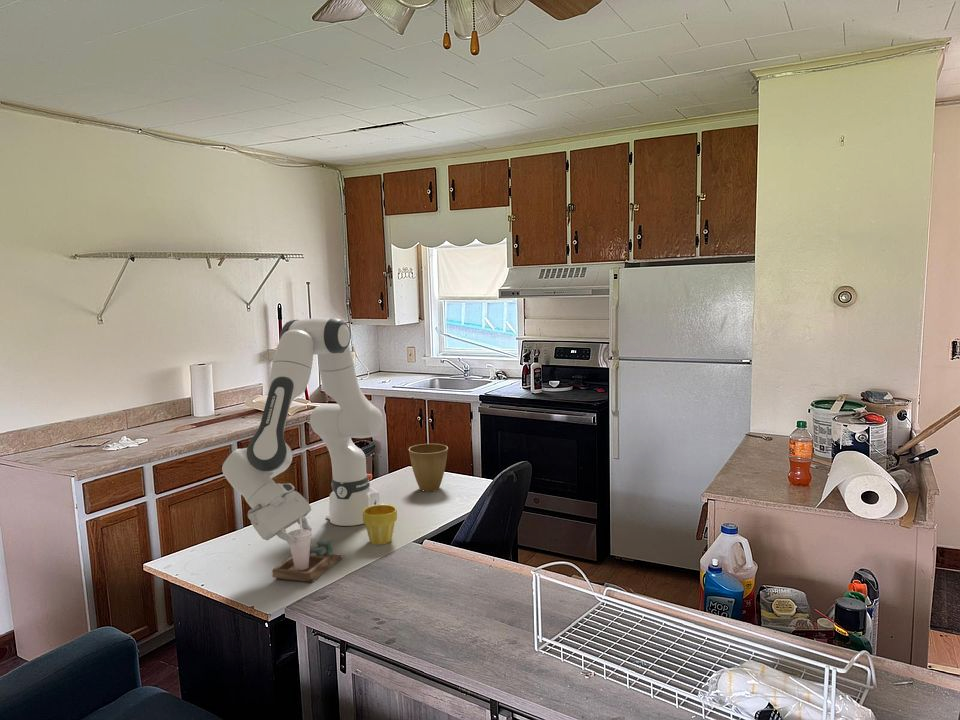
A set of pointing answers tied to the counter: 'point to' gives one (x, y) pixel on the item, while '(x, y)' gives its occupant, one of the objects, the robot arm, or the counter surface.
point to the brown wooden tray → (317, 564)
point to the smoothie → (301, 547)
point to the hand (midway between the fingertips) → (301, 537)
